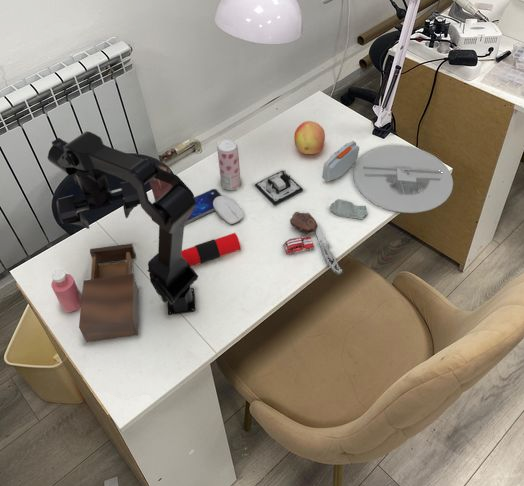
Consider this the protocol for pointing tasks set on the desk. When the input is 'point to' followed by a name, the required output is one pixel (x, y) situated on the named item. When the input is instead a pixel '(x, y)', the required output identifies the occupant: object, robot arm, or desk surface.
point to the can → (160, 183)
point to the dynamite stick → (211, 249)
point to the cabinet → (109, 308)
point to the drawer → (112, 255)
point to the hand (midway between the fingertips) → (107, 221)
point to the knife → (327, 251)
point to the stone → (303, 222)
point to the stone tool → (348, 209)
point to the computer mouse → (228, 209)
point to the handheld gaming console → (340, 161)
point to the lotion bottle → (66, 291)
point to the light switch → (278, 187)
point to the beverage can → (229, 164)
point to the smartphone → (203, 204)
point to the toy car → (298, 245)
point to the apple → (309, 137)
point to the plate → (403, 179)
